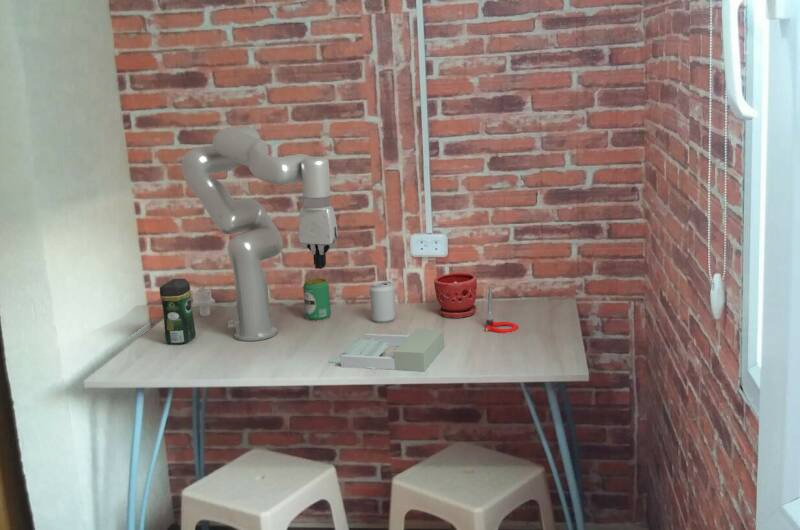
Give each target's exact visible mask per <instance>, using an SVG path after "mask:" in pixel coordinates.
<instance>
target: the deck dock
mask: <svg viewBox="0 0 800 530" xmlns="http://www.w3.org/2000/svg"><path fill="white" fill-rule="evenodd" d="M444 332H445V330H444V329H434V328H433V329H430V328H429V329H427V328H426V329H425V328H415V329H414V330H413V331H412V332H411V333H410V334H409V335H406V334H385V333H365V334H364V339H365V340H371V339H372V338H373V337H375V341H379V340H380V339H381V340H383V342H387V343H390V345H389V346H388V347H396V349H395V350H394V351H393V356H379V357H378V356H358V355H342V354H340V355H339V357H341V366H340V368H353V369H354V368H355V369H362V368H363V367H375V369H376V370H388V369H392V370H393V371H408V372H410V371H411V372H426V370H427V369H428V368H429V367H430V365H431V364H432V363H433V362H434V360H435V359H436V358H437V357H438V356H439V355H440V353H442V351H443V349H445V333H444ZM437 355H438V356H437ZM436 356H437V357H436ZM375 369H374V370H375Z"/></svg>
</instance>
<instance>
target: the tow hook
mask: <svg viewBox="0 0 800 530" xmlns="http://www.w3.org/2000/svg"><path fill="white" fill-rule="evenodd" d="M492 290H493V289H492V285H489V286H488V293H487V312H486V318H487V319H486V322H485V323H486V324H485V327H484V331H485V332H489V331H491V332H493V333H494V332H495V333H501V334H508V333H507V332H511V333H513V332H512V331H515V330H517V329H518V330H519V325H518V324H516V323H515V322H514V323H513V322H510V321H494V319H493V317H494V316H493V314H494V312H493V292H492ZM503 325H506V326H507V325H508V326H507V327H510V326H512V327H511V328H498V327H500V326H503ZM518 330H517V331H518ZM515 332H516V331H515Z"/></svg>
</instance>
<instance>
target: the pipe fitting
mask: <svg viewBox="0 0 800 530" xmlns="http://www.w3.org/2000/svg"><path fill="white" fill-rule="evenodd" d="M194 297H195V300H192V304H193V305H194V306H196V307H199V314H200V316H202V317H206V316H209V315H211V309H210V308H211V307H210V306H211V305H212V304H213V305H214V304H215V303H216V300H215V299H214V298H213V297H212V290H211V289H209V288H203V289H196V290H195V291H194Z"/></svg>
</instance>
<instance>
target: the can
mask: <svg viewBox="0 0 800 530" xmlns="http://www.w3.org/2000/svg"><path fill="white" fill-rule="evenodd" d="M369 293H370V294H369V295H370V310H371V311H370V312H371V314H370V315H371V319H372V321H373V322H375V323H377V322H378V323H377V324H385V323H387V322H388V323H391V322H393V321H394V320H395V319H396V317H397V314H396V313H397V311H396V294H395V286H394V285H393V282H392V281H390V280H378V281H374V282H372V283H371V287H370V288H369ZM388 323H387V324H388Z"/></svg>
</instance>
